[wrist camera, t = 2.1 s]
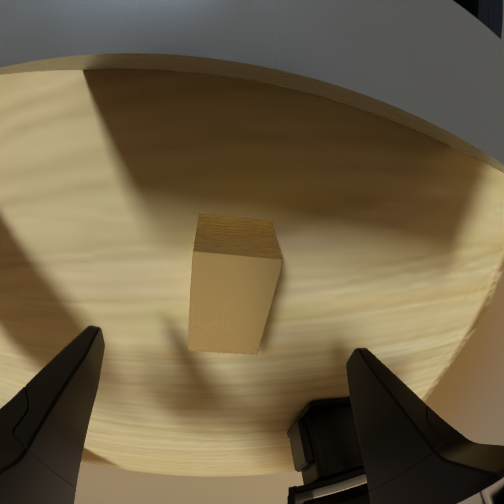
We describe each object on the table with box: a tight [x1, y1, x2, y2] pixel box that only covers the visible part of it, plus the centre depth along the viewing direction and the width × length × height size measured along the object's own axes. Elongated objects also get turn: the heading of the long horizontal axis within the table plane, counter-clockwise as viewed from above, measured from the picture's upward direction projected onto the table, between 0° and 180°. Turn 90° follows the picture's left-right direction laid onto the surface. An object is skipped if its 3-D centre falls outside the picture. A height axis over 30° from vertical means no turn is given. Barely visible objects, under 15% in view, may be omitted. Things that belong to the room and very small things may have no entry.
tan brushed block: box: [188, 214, 283, 354], centre depth 12 cm, size 3×5×3 cm, turn 170°
